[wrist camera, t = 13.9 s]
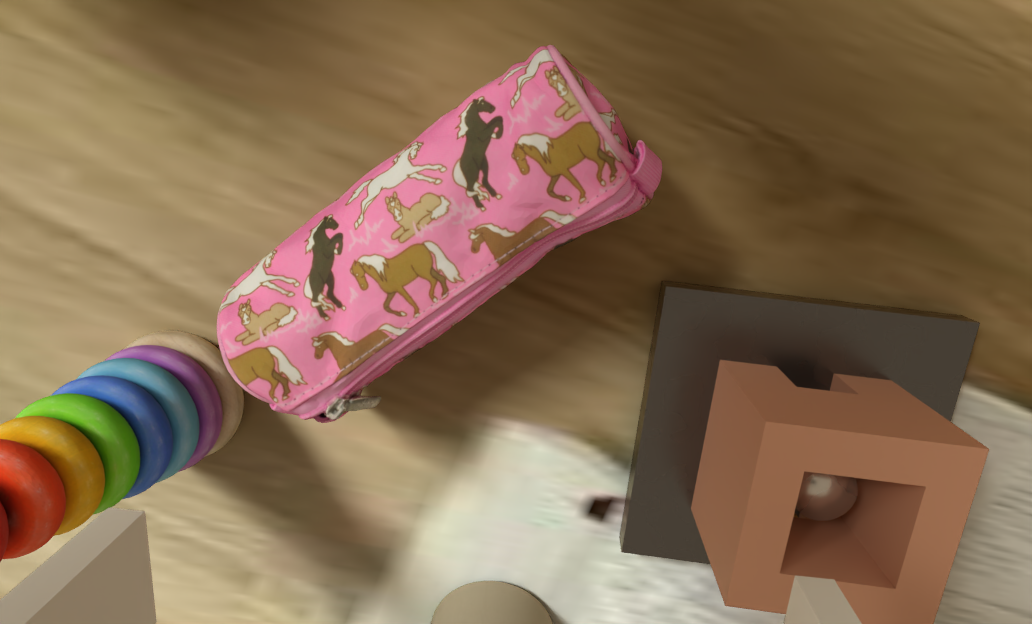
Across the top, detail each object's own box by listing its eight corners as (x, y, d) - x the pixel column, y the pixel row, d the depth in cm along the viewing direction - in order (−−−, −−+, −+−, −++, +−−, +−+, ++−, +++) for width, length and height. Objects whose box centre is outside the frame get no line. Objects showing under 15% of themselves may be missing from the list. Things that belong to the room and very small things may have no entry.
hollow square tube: (690, 508, 36) (725, 605, 29) (719, 359, 34) (766, 421, 26) (851, 529, 36) (930, 633, 28) (891, 380, 34) (989, 449, 26)
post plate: (619, 536, 39) (630, 611, 33) (661, 280, 35) (683, 309, 28) (887, 572, 38) (951, 656, 32) (962, 315, 34) (1052, 353, 28)
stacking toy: (269, 364, 38) (-2, 564, 20) (223, 471, 40) (-61, 742, 22) (146, 303, 37) (-247, 448, 19) (106, 414, 39) (-284, 641, 21)
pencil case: (359, 402, 38) (300, 475, 30) (255, 279, 37) (161, 319, 28) (661, 181, 34) (694, 192, 25) (556, 32, 32) (555, -10, 24)
